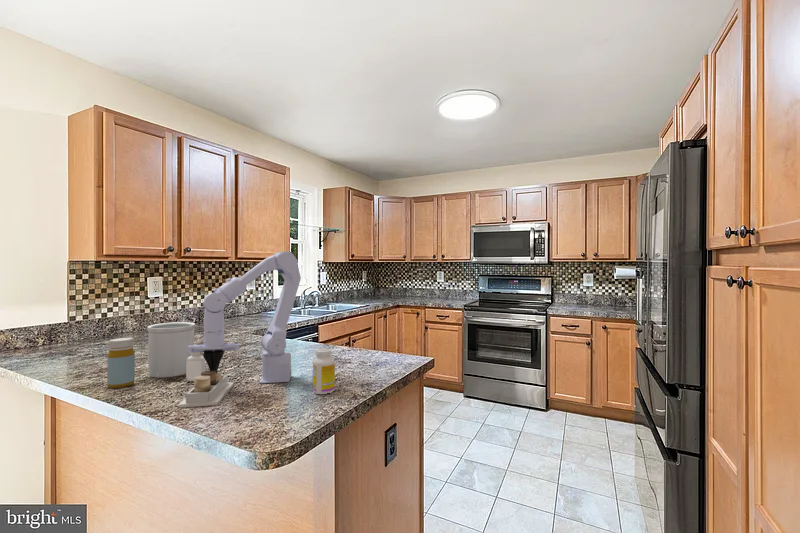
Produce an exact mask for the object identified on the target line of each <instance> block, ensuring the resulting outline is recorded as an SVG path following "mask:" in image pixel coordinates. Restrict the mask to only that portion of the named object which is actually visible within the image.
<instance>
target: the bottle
mask: <svg viewBox="0 0 800 533" xmlns="http://www.w3.org/2000/svg"><path fill="white" fill-rule="evenodd" d="M108 342H109V343H108V344H109V345H108V346H109V351H108V353H107V365H106V366H107V370H106V371H107V374H106V375H107V377H106V378H107V381H106V382H107V387H108V388H110V389H120V388H126V387H129V386H132V385H134V383H135V381H136V380H135V378H136V375H135V370H136V368H135V365H136V362H135V355H136V354H135V350H134V338H133V337H118V338H113V339H110V340H109V341H108Z"/></svg>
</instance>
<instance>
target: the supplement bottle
mask: <svg viewBox="0 0 800 533" xmlns="http://www.w3.org/2000/svg"><path fill="white" fill-rule="evenodd" d="M315 355H316V357H315V358H314V359H313V360H312V391H313V393H314V394H315V395H318V394H327V393H330V394H332V393H334V392H333V391H336V379H335V378H336V375H335V374H336V373H335V371H336V369H335V366H336V365H335V364H336V361H335V359H334V358H333V357H332V349H331V348H318V349H316V350H315ZM331 392H332V393H331ZM327 395H328V394H327Z"/></svg>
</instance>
